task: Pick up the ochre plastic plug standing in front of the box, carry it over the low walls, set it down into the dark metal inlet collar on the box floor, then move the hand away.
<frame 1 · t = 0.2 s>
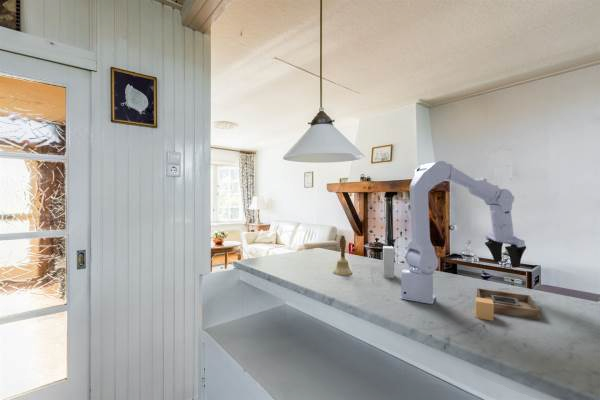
hand: (506, 264, 98), 10 cm above the counter, tool pointing down, fingers open, 7 cm apart
skincare box: (388, 276, 120), on the counter
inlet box: (504, 306, 88), on the counter
plug: (484, 316, 80), on the counter
hand bell: (342, 273, 125), on the counter
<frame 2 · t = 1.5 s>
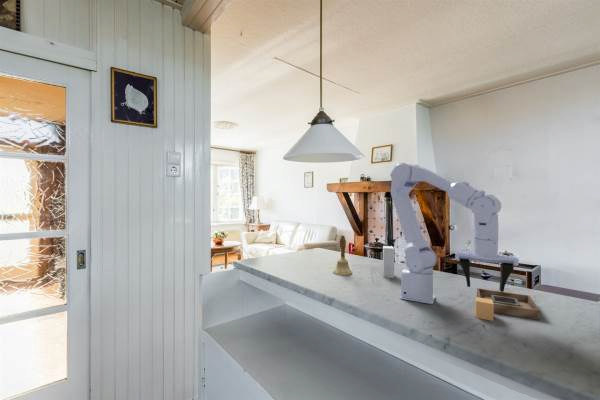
hand: (484, 288, 80), 8 cm above the counter, tool pointing down, fingers open, 7 cm apart
nothing on the counter moved.
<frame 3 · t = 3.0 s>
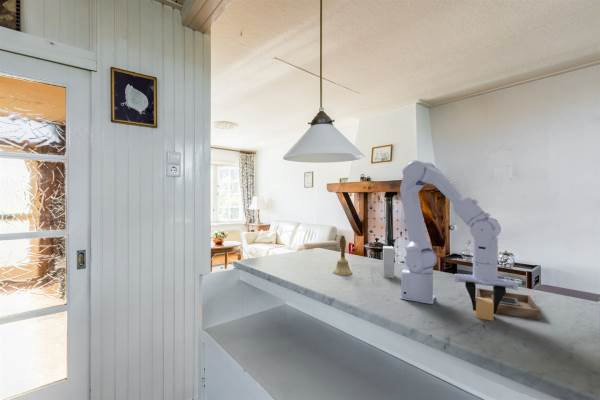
hand: (484, 311, 80), 1 cm above the counter, tool pointing down, fingers closed on plug, 4 cm apart
plug: (484, 316, 80), on the counter, touching gripper
everything else where it was.
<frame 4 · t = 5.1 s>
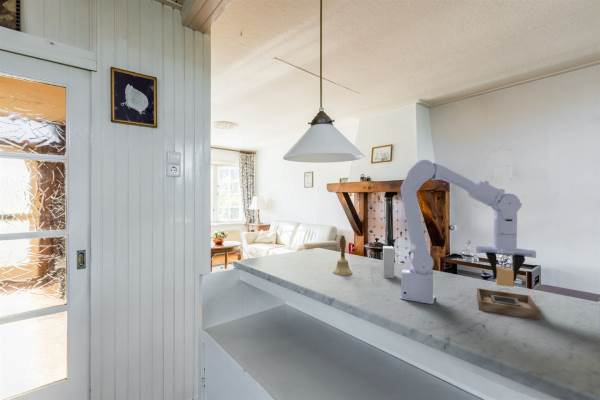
hand: (504, 279, 87), 8 cm above the counter, tool pointing down, fingers closed on plug, 4 cm apart
plug: (504, 284, 87), point 7 cm above the counter, touching gripper
everything else where it was.
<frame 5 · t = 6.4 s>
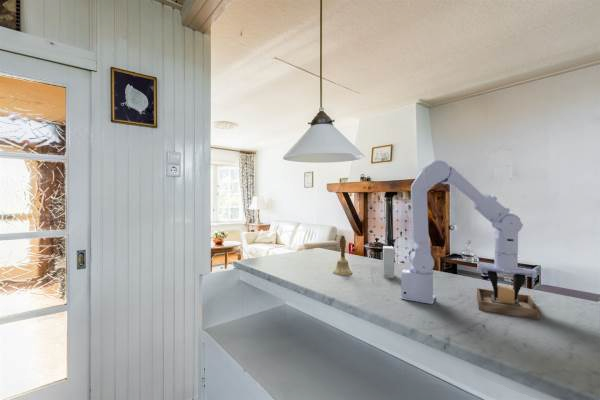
hand: (505, 297, 88), 3 cm above the counter, tool pointing down, fingers closed on plug, 4 cm apart
plug: (505, 302, 88), point 1 cm above the counter, touching gripper
everything else where it was.
when the fingers open (3 cm above the counter, at t = 7.1 s): plug stays where it is, resting on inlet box.
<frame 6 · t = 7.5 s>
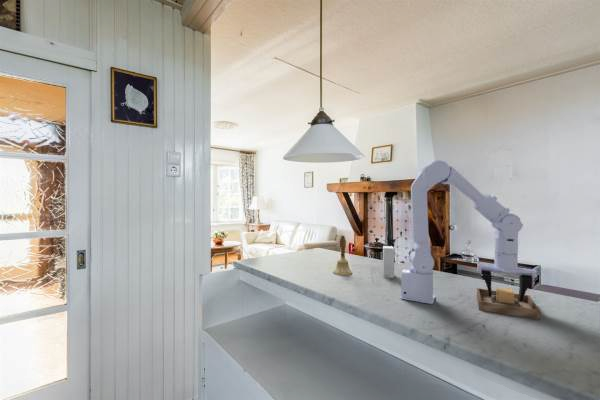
hand: (505, 297, 88), 3 cm above the counter, tool pointing down, fingers open, 7 cm apart
plug: (504, 304, 88), resting on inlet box
everything else where it was.
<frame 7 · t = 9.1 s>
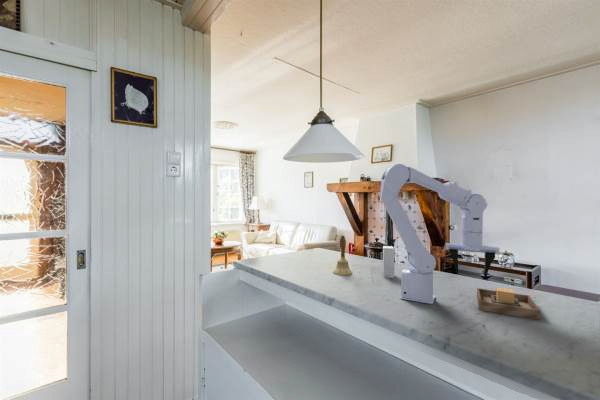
hand: (470, 274, 92), 8 cm above the counter, tool pointing down, fingers open, 7 cm apart
nothing on the counter moved.
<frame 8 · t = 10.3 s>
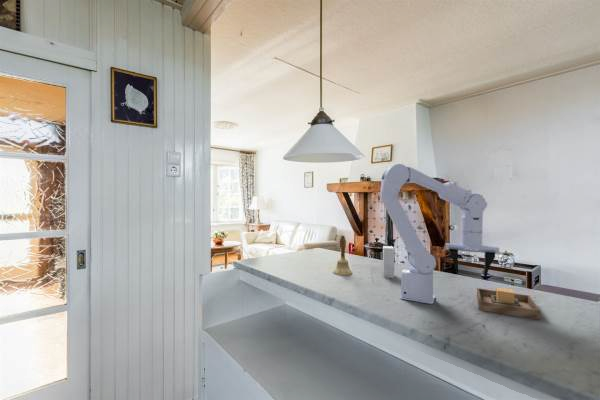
hand: (470, 274, 92), 8 cm above the counter, tool pointing down, fingers open, 7 cm apart
nothing on the counter moved.
at the end: plug 0.2 cm off-centre on the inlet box, point 0.5 cm above the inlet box's base; plug tilted 0°; the gripper is holding nothing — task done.
